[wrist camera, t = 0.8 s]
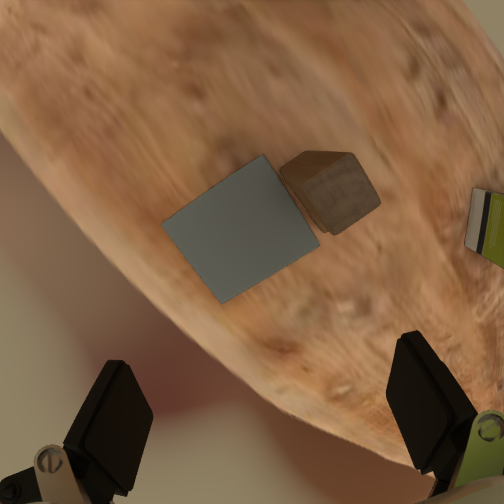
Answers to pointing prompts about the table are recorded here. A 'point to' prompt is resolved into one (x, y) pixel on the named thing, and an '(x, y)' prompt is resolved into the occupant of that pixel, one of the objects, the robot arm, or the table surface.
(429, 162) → the table surface
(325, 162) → the wooden block
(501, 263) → the tea box
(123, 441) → the robot arm
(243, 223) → the mat
